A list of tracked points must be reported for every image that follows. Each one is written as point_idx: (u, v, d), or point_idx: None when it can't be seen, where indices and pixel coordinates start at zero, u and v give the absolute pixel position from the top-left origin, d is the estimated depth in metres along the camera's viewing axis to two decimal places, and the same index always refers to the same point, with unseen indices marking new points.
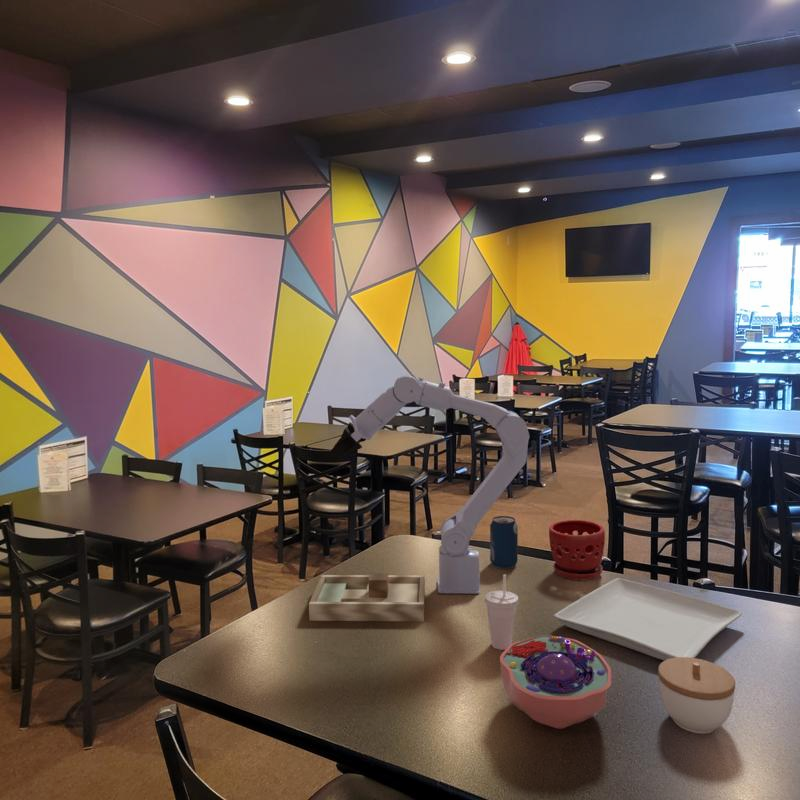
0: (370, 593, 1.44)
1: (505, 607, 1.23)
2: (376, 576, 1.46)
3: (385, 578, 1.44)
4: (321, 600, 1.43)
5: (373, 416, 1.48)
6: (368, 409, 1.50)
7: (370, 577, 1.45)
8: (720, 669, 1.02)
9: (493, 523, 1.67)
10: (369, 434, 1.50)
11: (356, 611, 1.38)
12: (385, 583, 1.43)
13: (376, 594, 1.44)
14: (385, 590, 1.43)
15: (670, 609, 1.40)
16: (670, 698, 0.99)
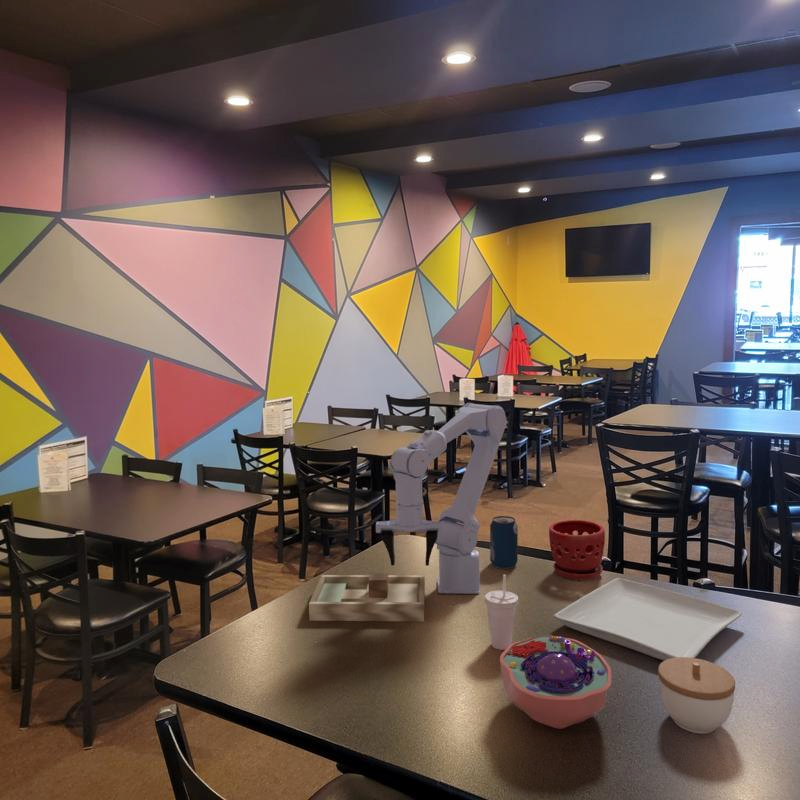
0: (370, 593, 1.44)
1: (505, 607, 1.23)
2: (376, 576, 1.46)
3: (385, 578, 1.44)
4: (321, 600, 1.43)
5: None
6: (416, 507, 1.41)
7: (370, 577, 1.45)
8: (720, 669, 1.02)
9: (493, 523, 1.67)
10: None
11: (356, 611, 1.38)
12: (385, 583, 1.43)
13: (376, 594, 1.44)
14: (385, 590, 1.43)
15: (670, 609, 1.40)
16: (670, 698, 0.99)
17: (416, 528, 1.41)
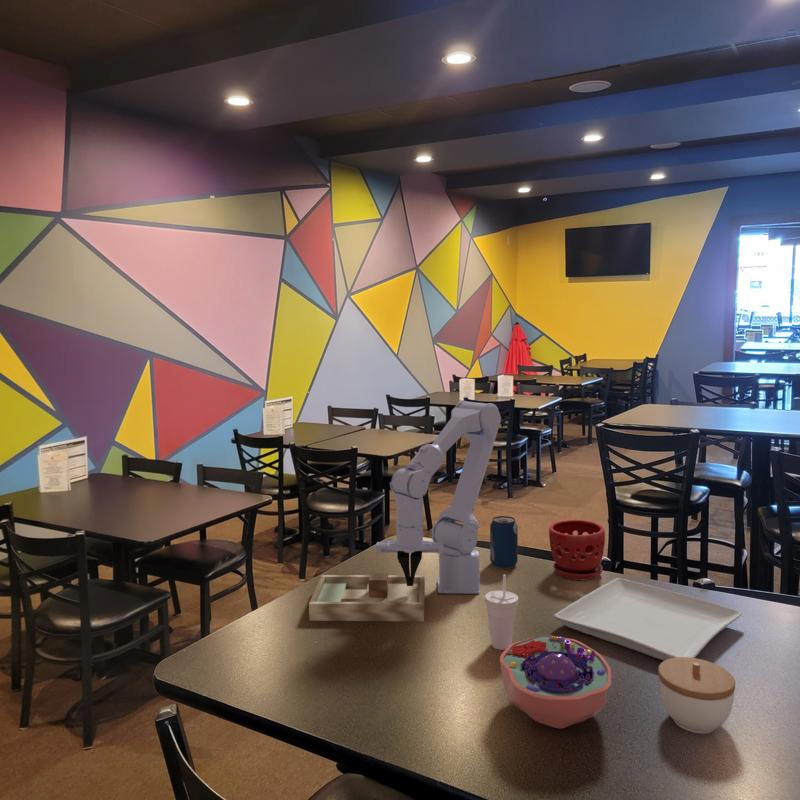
0: (370, 593, 1.44)
1: (505, 607, 1.23)
2: (376, 576, 1.46)
3: (385, 578, 1.44)
4: (321, 600, 1.43)
5: (422, 526, 1.43)
6: (416, 528, 1.41)
7: (370, 577, 1.45)
8: (720, 669, 1.02)
9: (493, 523, 1.67)
10: None
11: (356, 611, 1.38)
12: (385, 583, 1.43)
13: (376, 594, 1.44)
14: (385, 590, 1.43)
15: (670, 609, 1.40)
16: (670, 698, 0.99)
17: (416, 549, 1.41)
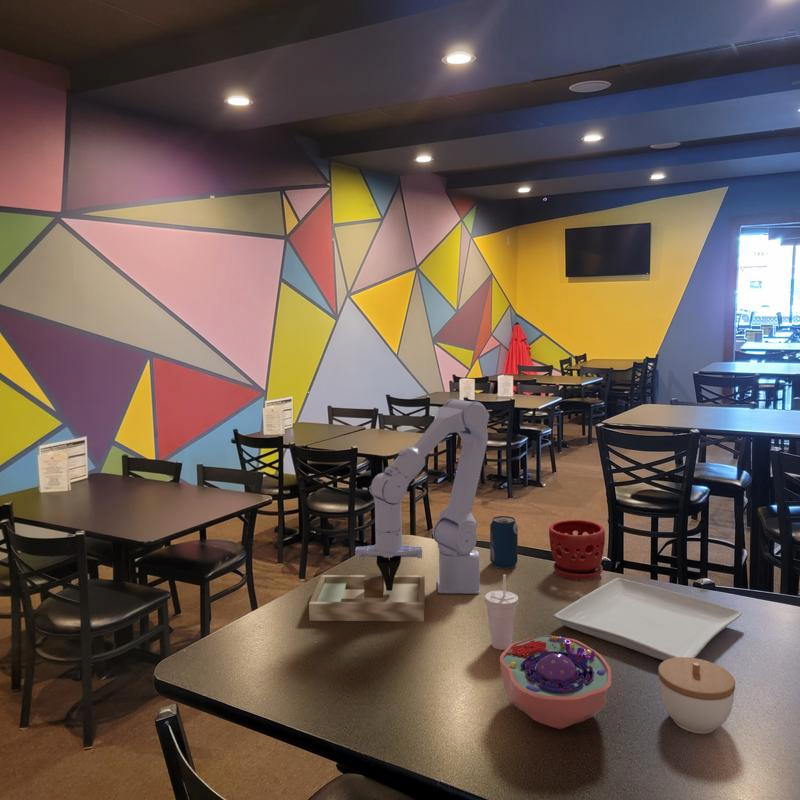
0: (365, 593, 1.44)
1: (505, 607, 1.23)
2: (371, 575, 1.46)
3: (380, 578, 1.44)
4: (321, 600, 1.43)
5: (401, 531, 1.43)
6: (395, 533, 1.42)
7: (365, 577, 1.45)
8: (720, 669, 1.02)
9: (493, 523, 1.67)
10: None
11: (356, 611, 1.38)
12: (380, 583, 1.43)
13: (371, 594, 1.44)
14: (380, 590, 1.43)
15: (670, 609, 1.40)
16: (670, 698, 0.99)
17: (395, 554, 1.42)
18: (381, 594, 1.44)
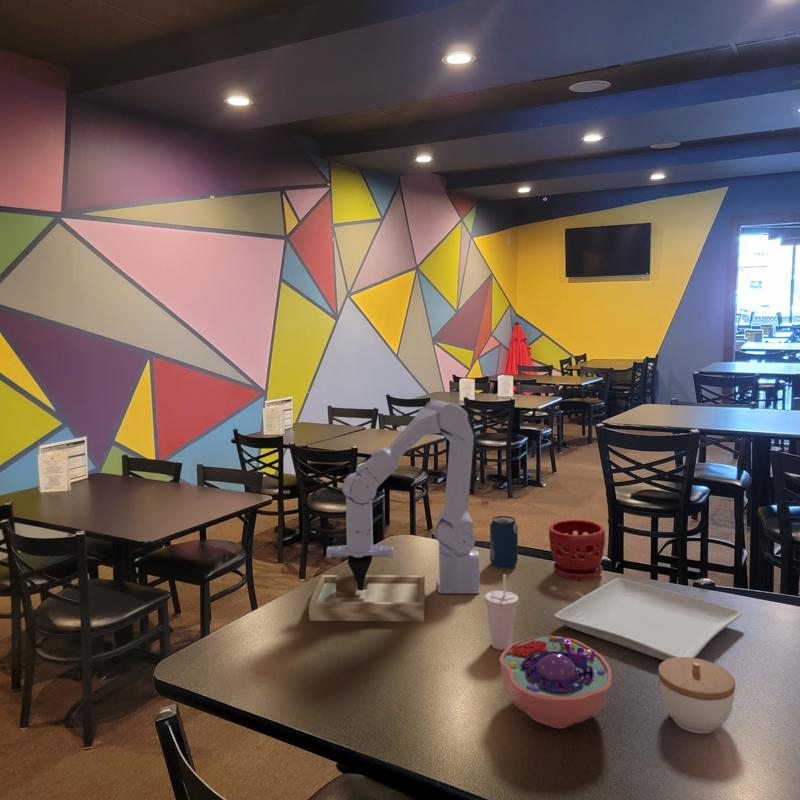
0: (337, 593, 1.44)
1: (505, 607, 1.23)
2: (343, 576, 1.46)
3: (352, 578, 1.44)
4: (321, 600, 1.43)
5: (372, 531, 1.44)
6: (365, 533, 1.42)
7: (337, 577, 1.45)
8: (720, 669, 1.02)
9: (493, 523, 1.67)
10: None
11: (356, 611, 1.38)
12: (352, 583, 1.44)
13: (343, 594, 1.44)
14: (352, 590, 1.44)
15: (670, 609, 1.40)
16: (670, 698, 0.99)
17: (366, 554, 1.42)
18: (353, 594, 1.44)
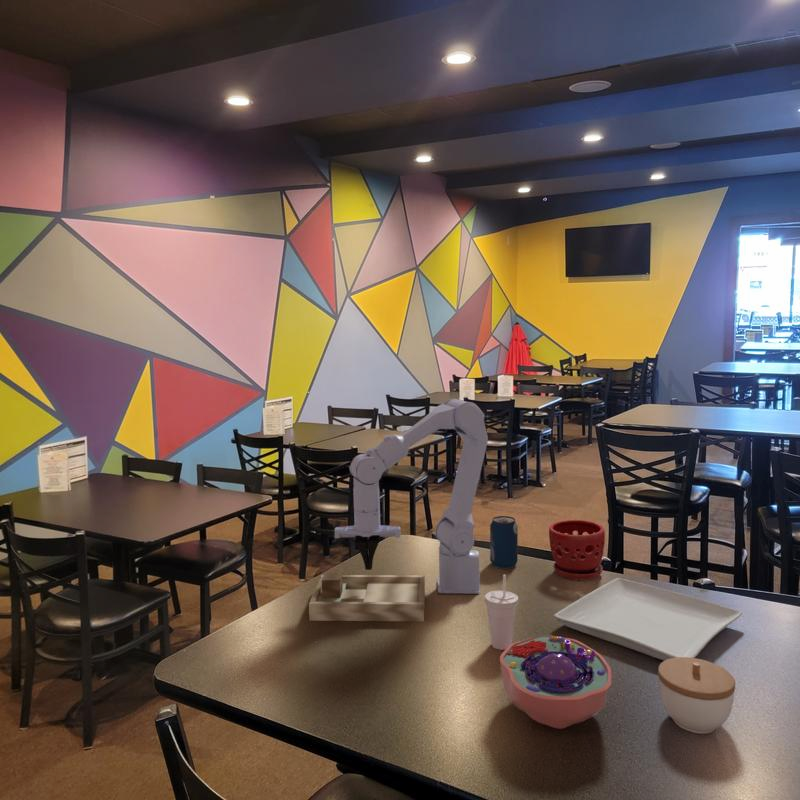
0: (323, 593, 1.44)
1: (505, 607, 1.23)
2: (329, 576, 1.46)
3: (338, 578, 1.45)
4: (321, 600, 1.43)
5: (379, 511, 1.46)
6: (373, 513, 1.44)
7: (323, 577, 1.45)
8: (720, 669, 1.02)
9: (493, 523, 1.67)
10: None
11: (356, 611, 1.38)
12: (338, 583, 1.44)
13: (329, 594, 1.44)
14: (338, 590, 1.44)
15: (670, 609, 1.40)
16: (670, 698, 0.99)
17: (373, 533, 1.44)
18: (339, 594, 1.44)
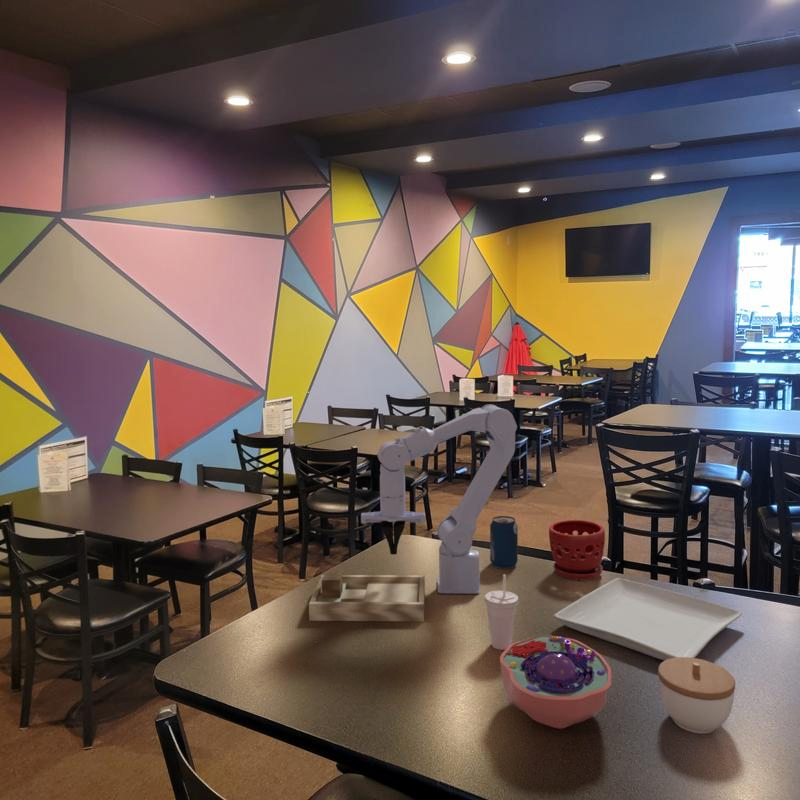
0: (323, 593, 1.44)
1: (505, 607, 1.23)
2: (329, 576, 1.46)
3: (338, 578, 1.45)
4: (321, 600, 1.43)
5: None
6: (399, 499, 1.48)
7: (323, 577, 1.45)
8: (720, 669, 1.02)
9: (493, 523, 1.67)
10: None
11: (356, 611, 1.38)
12: (338, 583, 1.44)
13: (329, 594, 1.44)
14: (338, 590, 1.44)
15: (670, 609, 1.40)
16: (670, 698, 0.99)
17: (399, 519, 1.48)
18: (339, 594, 1.44)
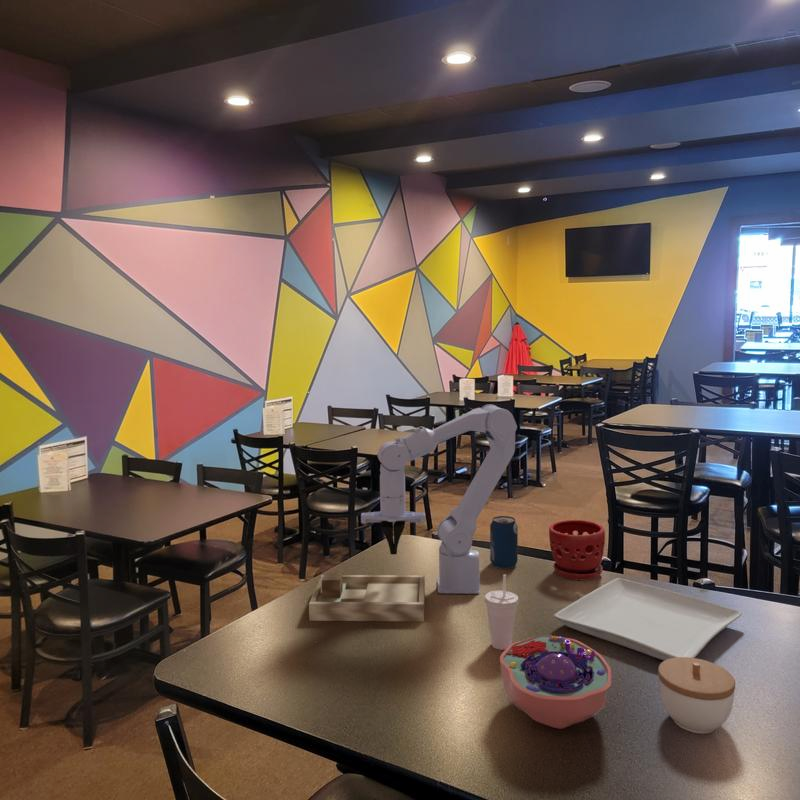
0: (323, 593, 1.44)
1: (505, 607, 1.23)
2: (329, 576, 1.46)
3: (338, 578, 1.45)
4: (321, 600, 1.43)
5: None
6: (399, 499, 1.48)
7: (323, 577, 1.45)
8: (720, 669, 1.02)
9: (493, 523, 1.67)
10: None
11: (356, 611, 1.38)
12: (338, 583, 1.44)
13: (329, 594, 1.44)
14: (338, 590, 1.44)
15: (670, 609, 1.40)
16: (670, 698, 0.99)
17: (399, 519, 1.48)
18: (339, 594, 1.44)
